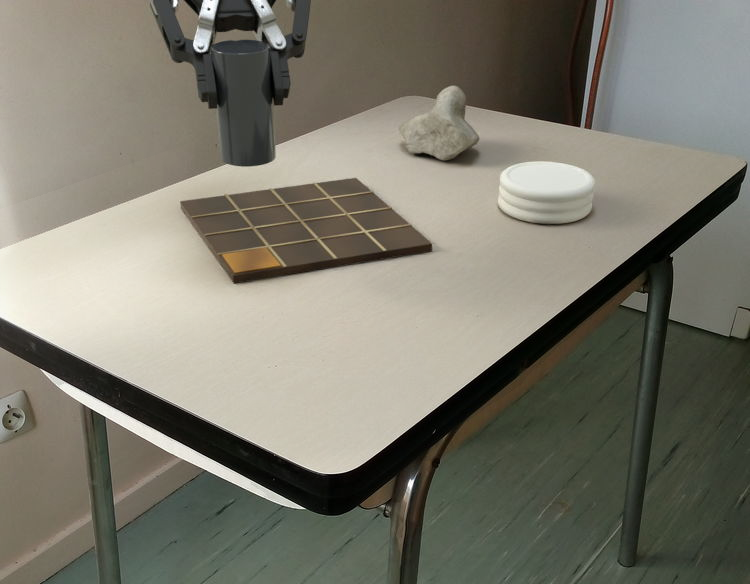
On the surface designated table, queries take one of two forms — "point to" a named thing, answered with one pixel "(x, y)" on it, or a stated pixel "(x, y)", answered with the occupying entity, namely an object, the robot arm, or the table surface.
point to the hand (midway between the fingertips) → (246, 101)
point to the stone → (441, 127)
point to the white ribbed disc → (546, 192)
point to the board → (301, 229)
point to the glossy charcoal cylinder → (244, 102)
